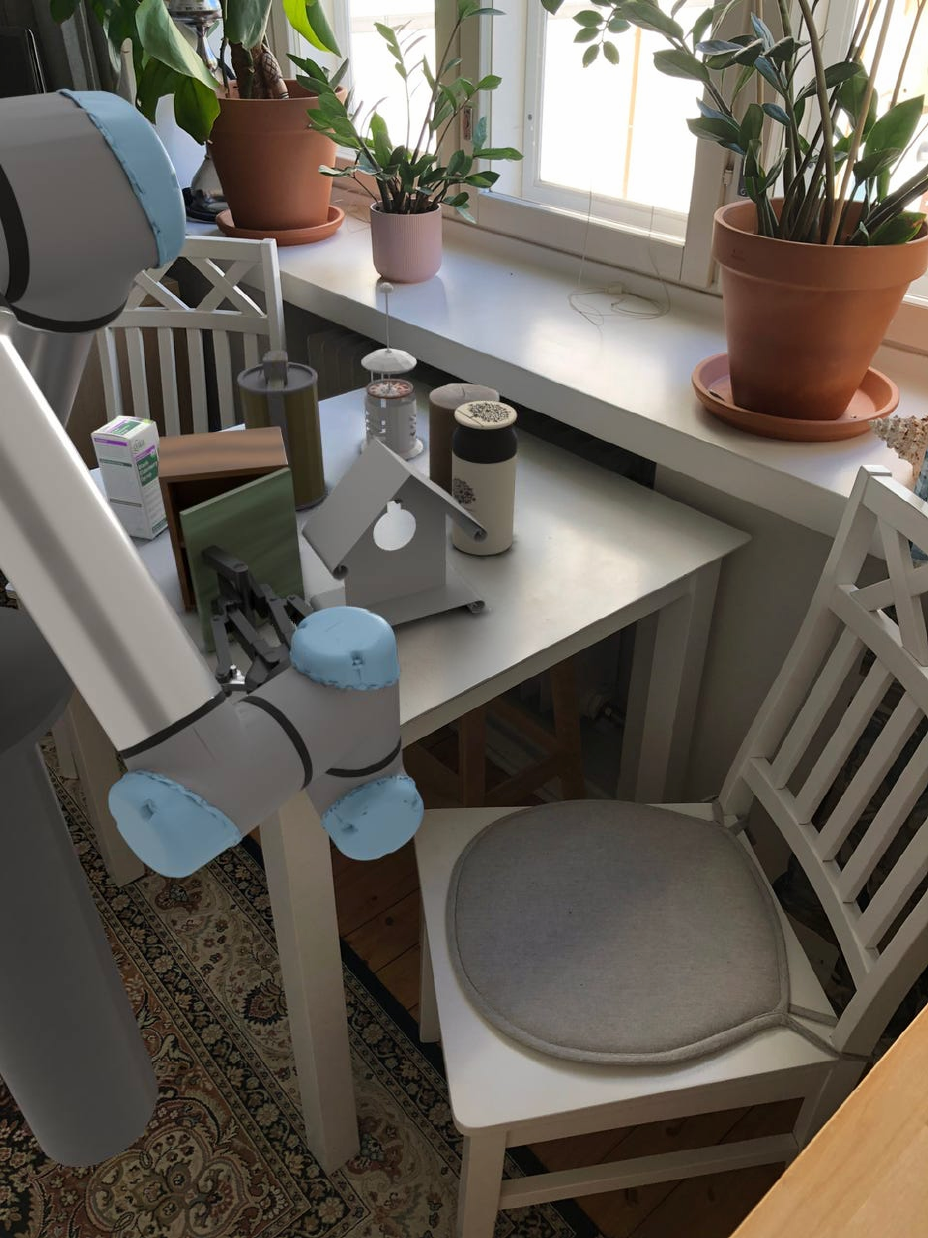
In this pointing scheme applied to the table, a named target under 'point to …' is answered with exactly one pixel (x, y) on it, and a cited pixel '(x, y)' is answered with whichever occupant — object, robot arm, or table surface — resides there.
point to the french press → (391, 399)
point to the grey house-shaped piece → (390, 577)
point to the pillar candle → (449, 426)
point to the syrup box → (132, 473)
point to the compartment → (210, 478)
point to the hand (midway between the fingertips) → (233, 579)
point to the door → (244, 546)
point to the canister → (288, 418)
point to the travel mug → (485, 473)
